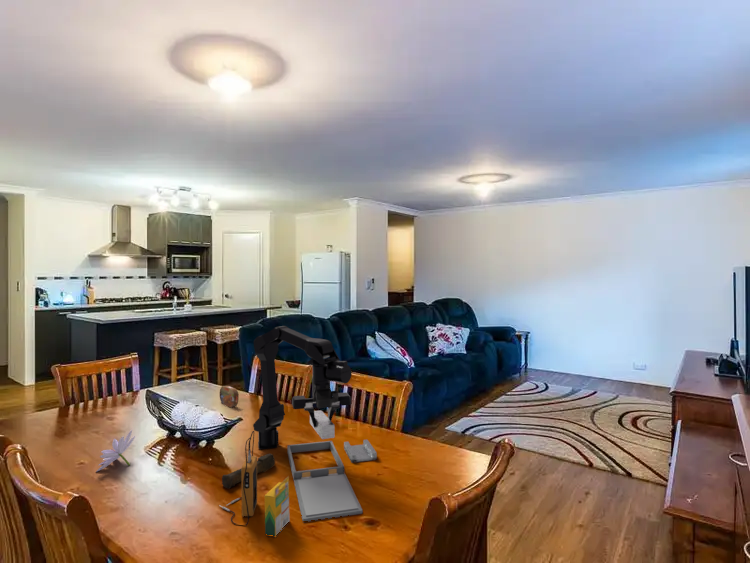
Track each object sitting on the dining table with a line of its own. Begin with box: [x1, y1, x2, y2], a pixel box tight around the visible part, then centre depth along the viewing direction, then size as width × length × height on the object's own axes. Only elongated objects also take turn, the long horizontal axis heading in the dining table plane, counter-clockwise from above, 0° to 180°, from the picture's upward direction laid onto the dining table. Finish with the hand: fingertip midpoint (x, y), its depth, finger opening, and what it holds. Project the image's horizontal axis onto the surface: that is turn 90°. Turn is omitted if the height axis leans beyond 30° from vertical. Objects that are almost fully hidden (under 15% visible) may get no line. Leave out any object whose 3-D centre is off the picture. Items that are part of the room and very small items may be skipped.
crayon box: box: [264, 475, 290, 537], centre depth 112 cm, size 7×3×12 cm, turn 163°
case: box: [286, 440, 363, 522], centre depth 139 cm, size 15×45×2 cm, turn 16°
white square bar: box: [309, 409, 336, 440], centre depth 150 cm, size 4×16×4 cm, turn 22°
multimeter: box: [218, 430, 258, 526], centre depth 120 cm, size 15×10×20 cm
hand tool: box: [221, 453, 276, 489], centre depth 140 cm, size 19×4×5 cm, turn 143°
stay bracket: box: [343, 439, 378, 463], centre depth 157 cm, size 8×12×2 cm
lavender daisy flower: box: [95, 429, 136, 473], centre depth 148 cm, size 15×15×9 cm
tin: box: [219, 385, 239, 408], centre depth 213 cm, size 15×3×8 cm, turn 43°
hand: (321, 426), depth 150 cm, fingers closed on white square bar, 4 cm apart
